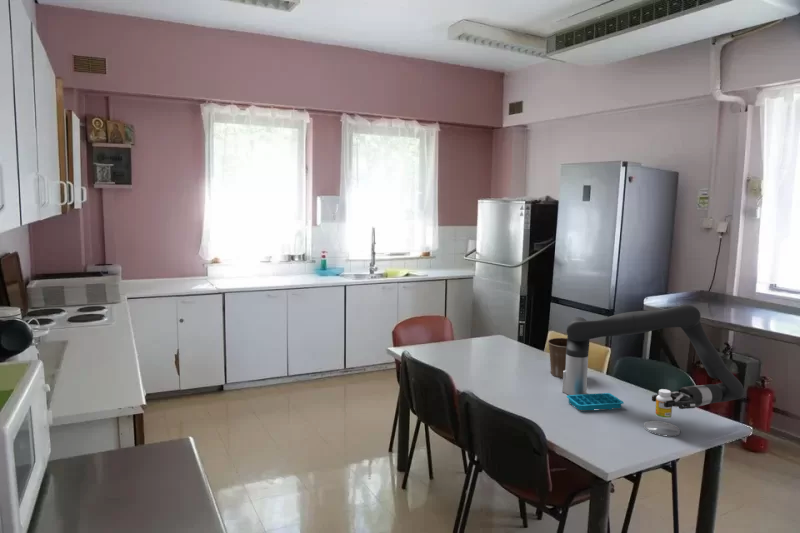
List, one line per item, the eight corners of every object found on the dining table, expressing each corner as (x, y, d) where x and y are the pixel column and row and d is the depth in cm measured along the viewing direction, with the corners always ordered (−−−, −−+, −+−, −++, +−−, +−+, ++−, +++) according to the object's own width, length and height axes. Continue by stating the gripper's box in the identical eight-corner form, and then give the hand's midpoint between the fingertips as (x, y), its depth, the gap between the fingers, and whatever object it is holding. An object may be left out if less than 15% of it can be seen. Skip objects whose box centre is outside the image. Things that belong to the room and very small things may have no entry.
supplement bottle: (657, 412, 204) (658, 387, 203) (673, 415, 201) (674, 390, 200) (653, 416, 200) (654, 391, 199) (669, 420, 197) (670, 394, 196)
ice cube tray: (624, 410, 220) (625, 403, 220) (578, 413, 217) (579, 405, 217) (609, 399, 232) (609, 392, 231) (564, 402, 228) (565, 395, 228)
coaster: (639, 429, 201) (639, 427, 201) (650, 420, 210) (650, 418, 210) (674, 439, 193) (674, 437, 193) (684, 429, 202) (684, 427, 202)
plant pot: (574, 382, 252) (575, 348, 250) (540, 375, 261) (542, 342, 259) (585, 373, 264) (587, 341, 262) (553, 367, 274) (555, 336, 272)
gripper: (680, 380, 210) (644, 385, 205) (711, 393, 197) (674, 398, 192) (679, 398, 211) (643, 404, 206) (710, 412, 198) (673, 418, 193)
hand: (658, 401), depth 199 cm, fingers closed on supplement bottle, 5 cm apart
